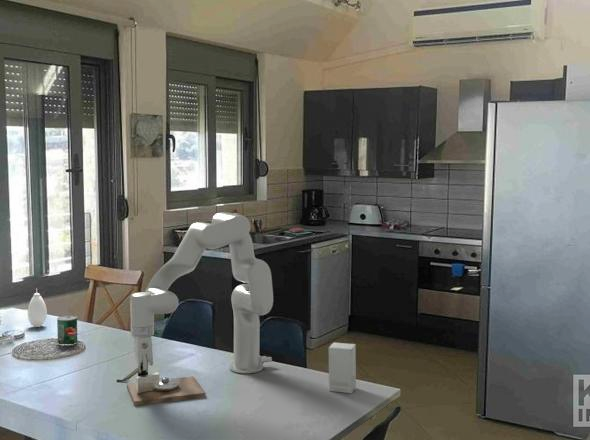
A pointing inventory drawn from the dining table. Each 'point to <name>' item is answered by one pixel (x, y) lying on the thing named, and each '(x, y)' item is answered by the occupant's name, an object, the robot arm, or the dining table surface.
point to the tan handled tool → (128, 376)
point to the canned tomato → (67, 329)
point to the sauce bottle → (37, 310)
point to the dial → (155, 383)
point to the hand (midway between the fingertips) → (143, 383)
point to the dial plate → (167, 392)
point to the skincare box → (342, 367)
